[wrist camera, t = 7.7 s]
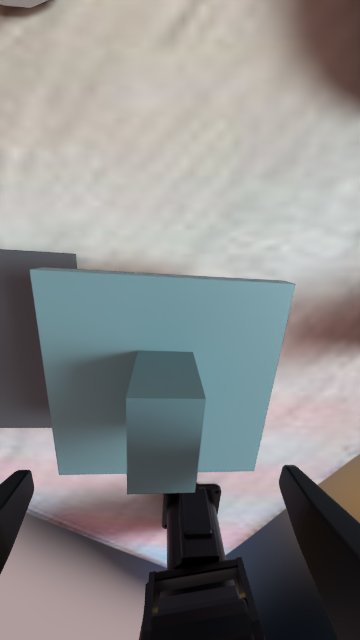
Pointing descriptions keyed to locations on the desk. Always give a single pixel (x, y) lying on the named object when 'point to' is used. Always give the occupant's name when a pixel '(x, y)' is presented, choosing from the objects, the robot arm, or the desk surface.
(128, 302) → the lid
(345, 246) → the desk surface
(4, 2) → the supplement can
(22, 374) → the mat
